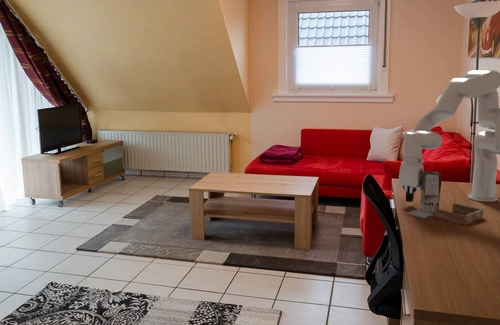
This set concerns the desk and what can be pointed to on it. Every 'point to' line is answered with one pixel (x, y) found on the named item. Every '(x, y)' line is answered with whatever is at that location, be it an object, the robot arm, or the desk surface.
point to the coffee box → (430, 191)
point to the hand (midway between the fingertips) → (409, 201)
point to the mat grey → (420, 213)
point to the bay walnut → (470, 212)
